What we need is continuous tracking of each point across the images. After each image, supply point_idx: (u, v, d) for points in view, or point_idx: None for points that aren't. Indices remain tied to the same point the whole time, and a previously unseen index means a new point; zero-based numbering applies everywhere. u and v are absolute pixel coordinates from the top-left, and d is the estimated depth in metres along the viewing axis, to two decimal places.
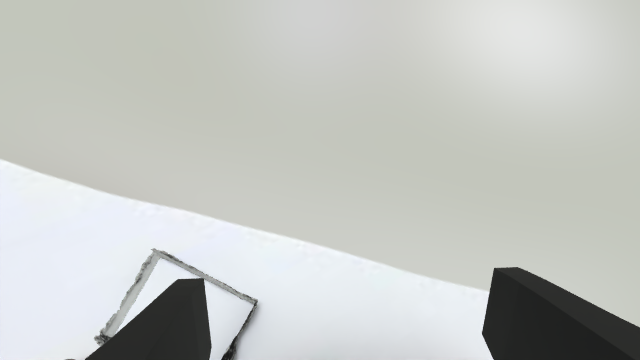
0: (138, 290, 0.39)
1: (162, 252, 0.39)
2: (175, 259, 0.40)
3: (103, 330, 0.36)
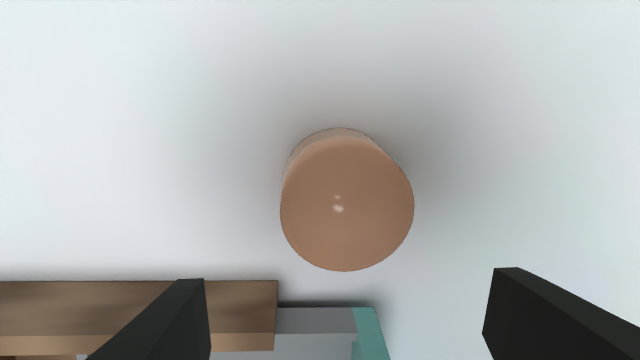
0: None
1: None
2: None
3: None
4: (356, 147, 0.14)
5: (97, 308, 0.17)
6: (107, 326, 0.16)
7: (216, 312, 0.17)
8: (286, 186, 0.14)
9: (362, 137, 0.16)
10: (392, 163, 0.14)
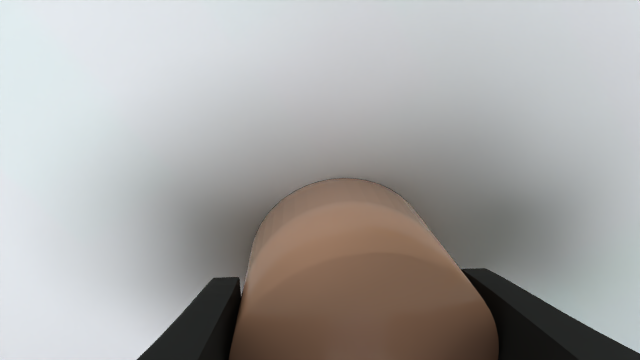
0: None
1: None
2: None
3: None
4: (382, 253, 0.07)
5: None
6: None
7: None
8: (237, 332, 0.07)
9: (386, 204, 0.09)
10: (458, 280, 0.07)
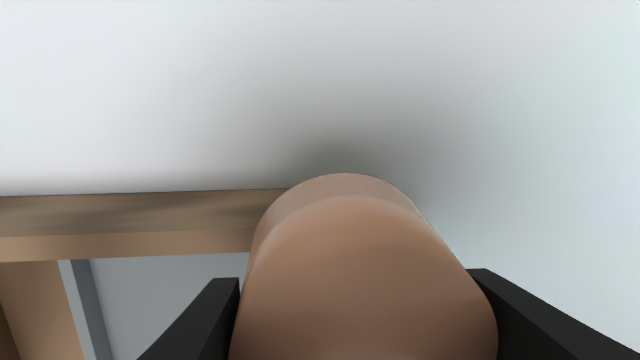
0: None
1: None
2: None
3: None
4: (384, 245, 0.07)
5: (81, 214, 0.15)
6: (92, 227, 0.14)
7: (220, 213, 0.15)
8: (238, 322, 0.07)
9: (388, 198, 0.09)
10: (459, 274, 0.07)
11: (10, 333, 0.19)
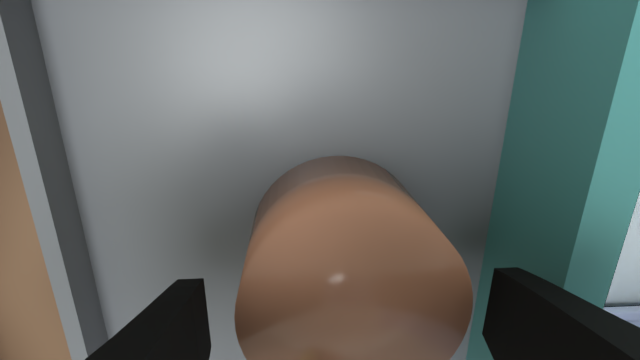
0: None
1: None
2: None
3: None
4: (377, 209, 0.08)
5: None
6: None
7: None
8: (246, 274, 0.08)
9: (381, 177, 0.10)
10: (441, 238, 0.08)
11: None
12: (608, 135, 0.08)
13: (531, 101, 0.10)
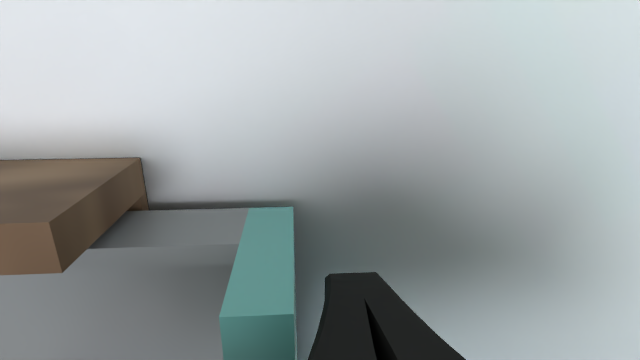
0: None
1: None
2: None
3: None
4: None
5: None
6: None
7: None
8: None
9: None
10: None
11: None
12: None
13: None
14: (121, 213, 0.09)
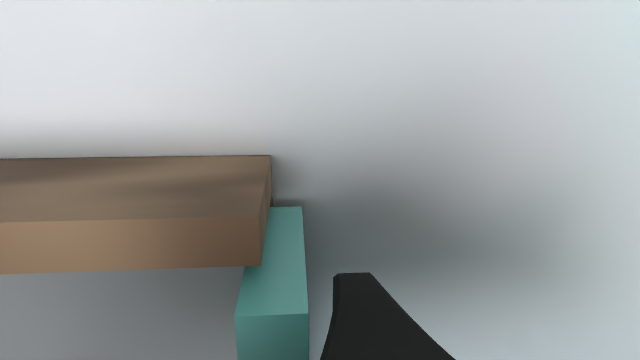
0: None
1: None
2: None
3: None
4: None
5: None
6: None
7: (130, 190, 0.08)
8: None
9: None
10: None
11: None
12: None
13: None
14: (268, 209, 0.09)
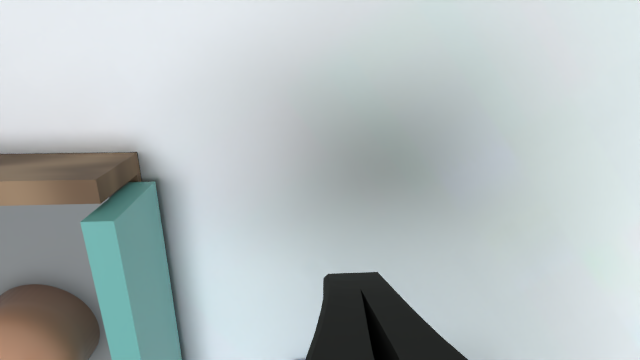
0: None
1: None
2: None
3: None
4: None
5: None
6: None
7: (44, 169, 0.15)
8: None
9: (31, 307, 0.17)
10: (14, 356, 0.15)
11: None
12: (101, 303, 0.15)
13: None
14: (126, 181, 0.17)
